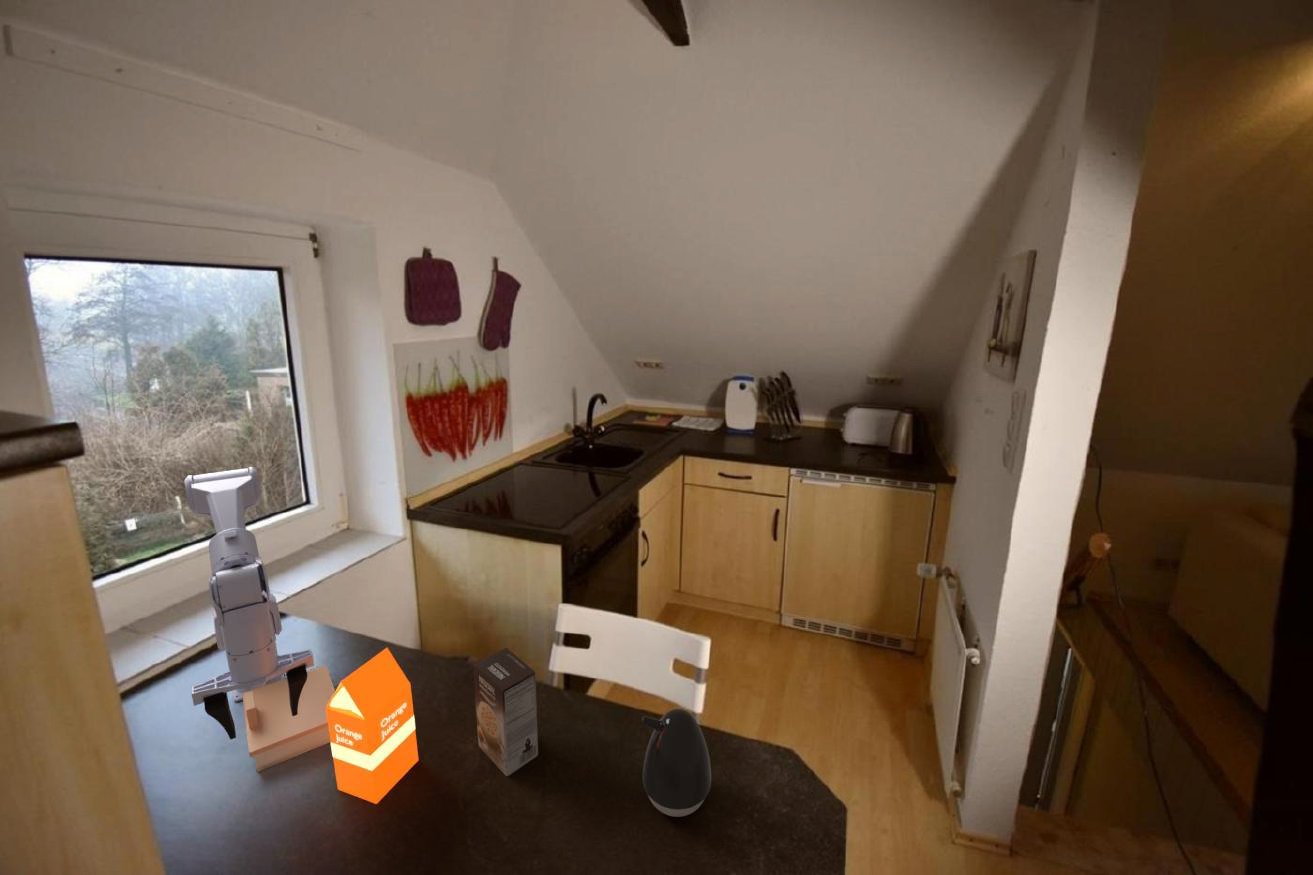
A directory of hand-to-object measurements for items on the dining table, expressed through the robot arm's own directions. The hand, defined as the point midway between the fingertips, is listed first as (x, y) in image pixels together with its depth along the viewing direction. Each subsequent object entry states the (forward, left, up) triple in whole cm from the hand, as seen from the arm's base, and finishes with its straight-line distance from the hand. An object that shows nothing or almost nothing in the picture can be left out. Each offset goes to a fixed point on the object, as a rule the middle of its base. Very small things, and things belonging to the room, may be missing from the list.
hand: (264, 723), depth 85 cm
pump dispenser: (+41, +47, -10) cm, 63 cm away
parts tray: (-11, +4, -10) cm, 15 cm away
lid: (-11, +4, -7) cm, 13 cm away
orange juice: (+9, +13, -10) cm, 19 cm away
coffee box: (+17, +31, -10) cm, 37 cm away
